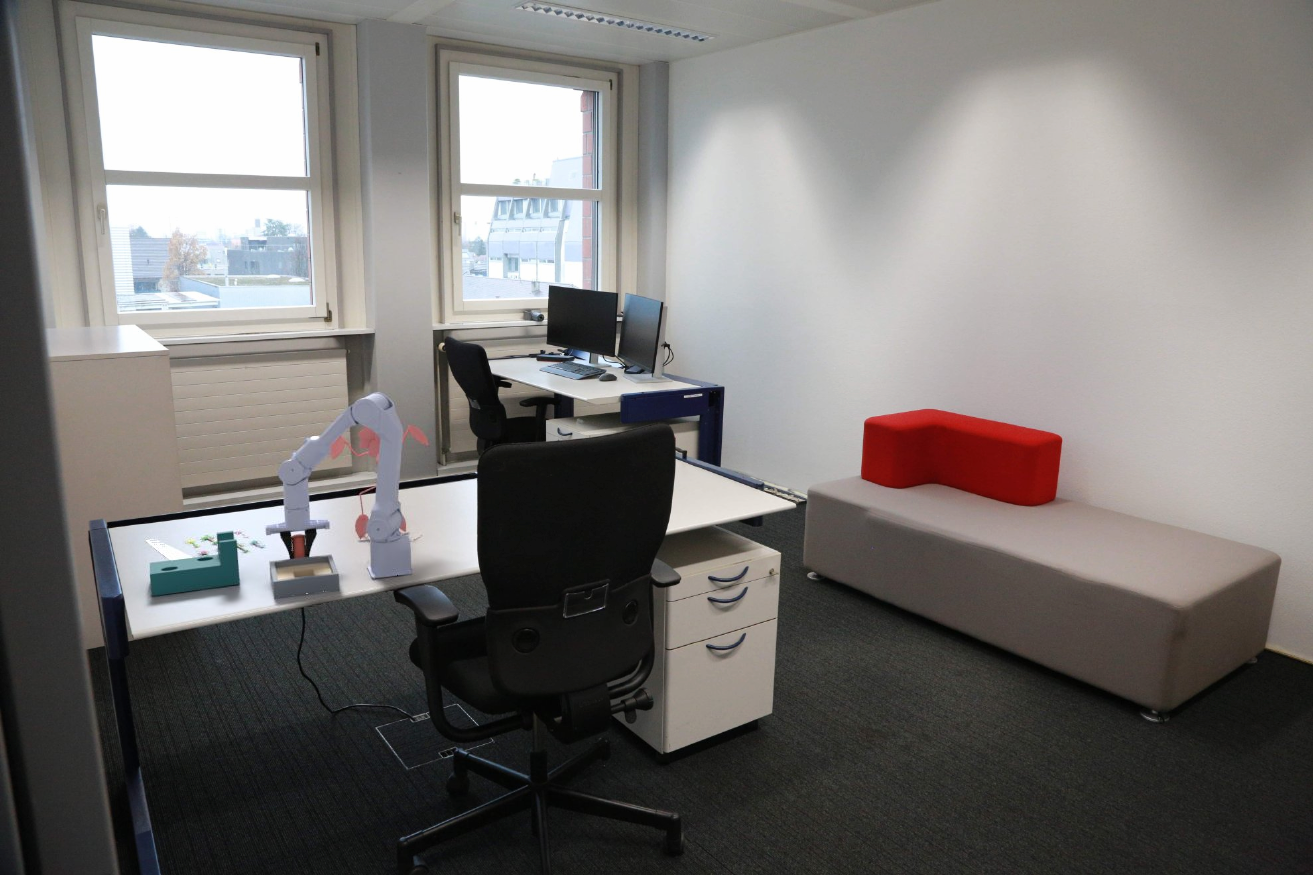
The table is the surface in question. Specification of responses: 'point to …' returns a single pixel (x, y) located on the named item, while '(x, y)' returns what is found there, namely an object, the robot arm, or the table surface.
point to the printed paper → (175, 554)
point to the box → (303, 576)
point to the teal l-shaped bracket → (198, 570)
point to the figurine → (373, 443)
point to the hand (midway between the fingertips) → (299, 559)
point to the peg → (298, 546)
